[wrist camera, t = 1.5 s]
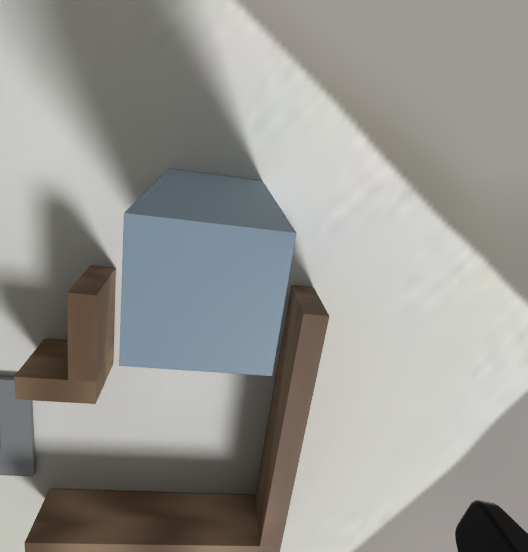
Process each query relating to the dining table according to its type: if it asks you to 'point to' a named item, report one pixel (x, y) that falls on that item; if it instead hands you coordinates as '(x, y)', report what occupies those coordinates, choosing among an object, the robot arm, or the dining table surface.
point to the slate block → (204, 275)
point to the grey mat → (15, 432)
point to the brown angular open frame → (162, 505)
